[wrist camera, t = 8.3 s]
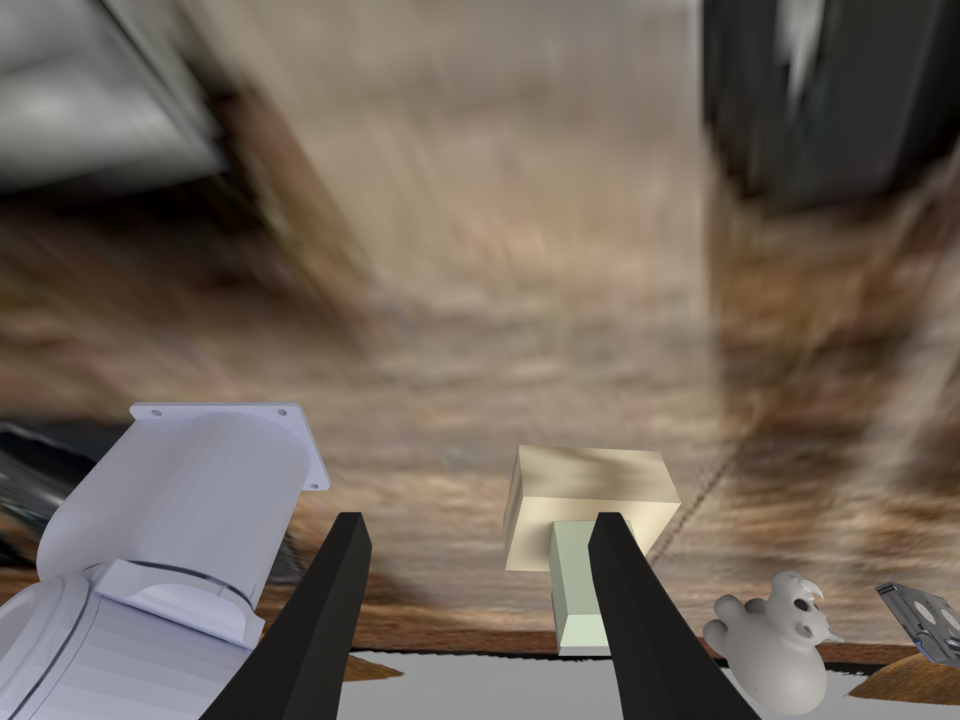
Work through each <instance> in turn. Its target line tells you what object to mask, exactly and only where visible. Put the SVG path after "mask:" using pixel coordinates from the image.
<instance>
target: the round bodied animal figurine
mask: <svg viewBox="0 0 960 720" xmlns="http://www.w3.org/2000/svg"><path fill="white" fill-rule="evenodd" d="M771 585H772V593H771V595H770V597H769V598H768V600H767V601H765V600H763V599H761V598H754V599H751V600H749V601H748V602H746V603H745V604H744V606H743V604H742V603H741V602H740V601H739V600H738V599H737V598H736V597H735V596H733V595H730V594H727V595H724V596H722V597H720V598H719V599H717V600H716V602H715V603H714V611H715V613H716V615H717V616H718V618H719V619H720V620H719V619H714V620H711V621H709V622H708V623H707V624H706V625H705V626H704V627H703V631H702V634H703V637H704V639H705V641H706V642H707V644H708V645H709V646H710V647H711V648H712V649H713V650H714V651H716V652H717V653H718V654H720V655H721V656H723V657H725V658H726V659H727V661H728V664H729V667H730V669H731V672H732V674H733V675H734V677H735V679H736V680H737V682H738V683H739V685H740V686H741V687H742V688H743V689H744V691H745V692H746V693H747V694H748V695H749V696H751V697H752V698H753V699H754V700H755V701H757V702H758V703H759V704H761V705H762V706H764V707H766V708H768V709H770V710H772V711H775V712H778V713H781V714H787V715H801V714H805V713H808V712H810V711H812V710H813V709H815V708H816V707H817V706H818V705H819V704H820V703H821V701H822V700H823V698H824V695H825V692H826V688H827V676H826V670H825V666H824V663H823V661H822V658H821V656H820V654H819V652H818V651H817V649H816V648H815V645H818V644H820V643H821V642H822V641H823V640H825V639H831V640H833V641H837V642H844V641H845V640H844V638H843V637H842V636H840V635H838V634H837V633H835V632H834V631H833V630H832V629H831V628H830V626H829V624H828V622H827V619H826V615H825V614H823V613H822V612H821V611H820V609H819V608H818V607H817V606H816V605H815V604H814V602H813V599H814V597H813V596H812V592H814V593H816V594H817V595H819V596H820V597H821V598H823V595H822V593H821V591H820V590H819V588H818V587H817V586H816V585H815V584H814V583H812V582H810V581H808V580H807V579H806V578H804V577H802V576H801V575H799V574H798V573H796V572H794V571H791V570H781V571H778V572H777V573H775V574H774V575H773V577H772V581H771Z"/></svg>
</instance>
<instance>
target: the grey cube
mask: <svg viewBox="0 0 960 720" xmlns="http://www.w3.org/2000/svg"><path fill="white" fill-rule="evenodd" d="M551 600H552V607H553V615H554V623H555V631H556V639H557V647H558V655H559V656H610V655H611V653H610V649H609V646H567V647H560V644H559V636H558V629H557V621H556V614H555V606H554V599H553V591H552V592H551Z"/></svg>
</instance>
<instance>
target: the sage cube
mask: <svg viewBox="0 0 960 720" xmlns="http://www.w3.org/2000/svg"><path fill="white" fill-rule="evenodd" d="M595 522H596V521H554V524H553V530H552V537H551V543H550V549H549V556H548V561H549V568H550V576H551V584H552V591H553V599H554V606H555V614H556V621H557V629H558V636H559V644H560V647H567V646H609V645H608V641H607V637H606V633H605V629H604V625H603V621H602V617H601V613H600V609H599V605H598V601H597V597H596V593H595V589H594V585H593V580H592V573H591V567H590V559H589V552H588V543H589V540H590V537H591V534H592V531H593V528H594V525H595ZM625 522H626V524H627V526H628V528H629V529H630V531H631V533H632V535H633V537H634V539H635V540H636V537H635V534H634V531H633V528H632V525H631V521H630V520H625ZM636 542H637V541H636Z"/></svg>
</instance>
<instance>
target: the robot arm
mask: <svg viewBox="0 0 960 720" xmlns="http://www.w3.org/2000/svg"><path fill="white" fill-rule="evenodd" d="M284 410H285V411H284ZM129 411H130V413H131V414H132V415H133V417H134V418H135V419H136V421H135V422H134V423H133V424H132V425H131V426H130V428H129V429H128V430H127V431H126V432H125V433H124V434H123V435H122V437H121V438H120V439H119V440H118V441H117V442H116V443H115V444H114V445H113V447H112V448H111V449H110V450H109V451H108V452H107V453H106V454H105V456H104V457H103V458H102V459H101V460H100V461H99V462H98V463H97V465H96V466H95V467H94V468H93V469H92V470H91V471H90V472H89V474H88V475H87V476H86V477H85V478H84V479H83V480H82V481H81V483H80V484H79V485H78V486H77V487H76V488H75V489H74V490H73V492H72V493H71V494H70V495H69V496H68V497H67V498H66V499H65V501H64V502H63V503H62V504H61V505H60V506H59V508H58V509H57V510H56V512H55V513H54V514H53V516H52V518H51V519H50V521H49V523H48V525H47V527H46V529H45V531H44V533H43V536H42V539H41V541H40V545H39V548H38V553H37V561H36V564H37V572H38V576H39V578H40V582H37V583H35V584H32V585H30V586H29V587H27V588H25V589H23V590H22V591H20V592H19V593H17V594H16V595H15V596H13V597H12V598H11V599H9V600H8V601H7V602H6V603H4V604H3V605H2V606H1V607H0V720H336V719H337V713H338V707H339V701H340V695H341V690H342V684H343V679H344V674H345V669H346V665H347V661H348V657H349V653H350V649H351V645H352V641H353V637H354V633H355V629H356V625H357V621H358V617H359V613H360V609H361V605H362V601H363V597H364V593H365V589H366V585H367V580H368V573H369V567H370V559H371V552H372V543H371V540H370V537H369V534H368V531H367V528H366V525H365V522H364V519H363V516H362V513H361V512H341V513H339V514H338V516H337V518H336V520H335V522H334V524H333V525H332V527H331V529H330V531H329V533H328V535H327V537H326V538H325V540H324V542H323V544H322V546H321V547H320V549H319V551H318V553H317V554H316V556H315V558H314V560H313V561H312V563H311V565H310V566H309V568H308V570H307V571H306V573H305V574H304V576H303V578H302V579H301V581H300V583H299V584H298V586H297V587H296V589H295V591H294V592H293V594H292V595H291V597H290V598H289V600H288V601H287V603H286V604H285V606H284V607H283V609H282V610H281V612H280V613H279V615H278V616H277V618H276V619H275V621H274V622H273V624H272V625H271V627H270V628H269V629H268V631H267V632H266V634H265V635H264V636H263V638H262V639H261V641H260V642H259V643H258V640H259V638H260V635H261V632H262V630H263V627H264V624H265V620H264V619H262V618H260V617H258V616H257V615H255V614H254V611H255V609H256V606H257V603H258V601H259V598H260V596H261V593H262V591H263V588H264V585H265V583H266V580H267V578H268V575H269V573H270V570H271V568H272V565H273V562H274V560H275V557H276V555H277V552H278V550H279V547H280V545H281V542H282V539H283V537H284V534H285V532H286V529H287V527H288V524H289V521H290V519H291V516H292V514H293V511H294V509H295V506H296V504H297V501H298V498H299V496H300V493H301V491H302V490H327V489H329V488H330V485H331V481H330V478H329V475H328V473H327V470H326V468H325V465H324V463H323V460H322V458H321V455H320V452H319V450H318V447H317V445H316V442H315V440H314V437H313V434H312V432H311V429H310V427H309V424H308V422H307V419H306V417H305V414H304V411H303V409H302V407H301V406H300V405H299V404H298V403H295V402H136V403H134V404H133V405H132V406H131V407H130V408H129ZM588 552H589V559H590V567H591V573H592V580H593V585H594V589H595V593H596V597H597V601H598V605H599V609H600V613H601V617H602V621H603V625H604V629H605V633H606V637H607V641H608V645H609V649H610V653H611V657H612V661H613V665H614V669H615V674H616V679H617V684H618V690H619V696H620V701H621V707H622V713H623V719H624V720H762V719H761V718H760V716H759V715H758V714H757V713H756V712H755V711H754V709H753V708H752V707H751V706H750V705H749V704H748V702H747V701H746V700H745V699H744V698H743V696H742V695H741V694H740V693H739V692H738V690H737V689H736V688H735V686H734V685H733V684H732V683H731V681H730V680H729V679H728V678H727V676H726V675H725V674H724V673H723V671H722V670H721V669H720V667H719V666H718V665H717V664H716V662H715V661H714V660H713V658H712V657H711V656H710V654H709V653H708V652H707V650H706V649H705V648H704V646H703V645H702V644H701V642H700V641H699V639H698V638H697V637H696V635H695V634H694V632H693V631H692V630H691V628H690V627H689V625H688V624H687V622H686V621H685V619H684V618H683V617H682V615H681V614H680V612H679V611H678V609H677V608H676V606H675V605H674V603H673V602H672V600H671V599H670V597H669V595H668V594H667V592H666V591H665V589H664V588H663V586H662V584H661V583H660V581H659V580H658V578H657V576H656V575H655V573H654V572H653V570H652V568H651V567H650V565H649V563H648V561H647V560H646V558H645V556H644V555H643V553H642V551H641V549H640V548H639V546H638V544H637V542H636V540H635V539H634V537H633V535H632V533H631V531H630V529H629V528H628V526H627V524H626V522H625V520H624V518H623V516H622V514H621V513H620V512H599V513H598V516H597V519H596V522H595V525H594V528H593V531H592V534H591V537H590V540H589V543H588Z"/></svg>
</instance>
